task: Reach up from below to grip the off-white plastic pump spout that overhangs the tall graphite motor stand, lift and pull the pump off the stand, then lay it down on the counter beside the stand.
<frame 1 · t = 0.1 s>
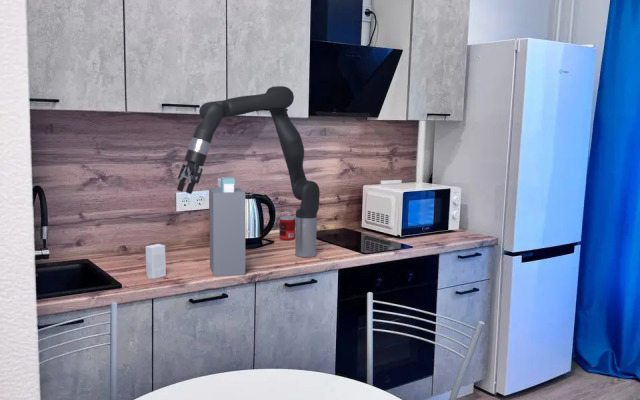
hand: (183, 192, 228), 31 cm above the worktop, tool tilted 20°, fingers open, 8 cm apart
skincare box: (156, 277, 226), on the worktop
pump: (225, 188, 236), point 32 cm above the worktop, touching motor stand
canned food: (287, 239, 299), on the worktop
motor stand: (227, 271, 236), on the worktop
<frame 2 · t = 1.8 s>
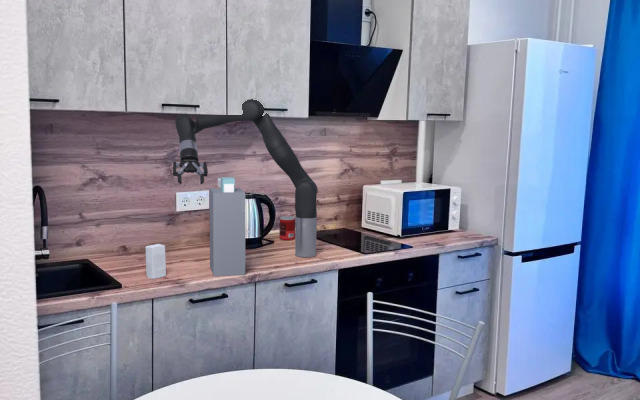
hand: (191, 182, 248), 33 cm above the worktop, tool tilted 45°, fingers open, 8 cm apart
nothing on the worktop moved.
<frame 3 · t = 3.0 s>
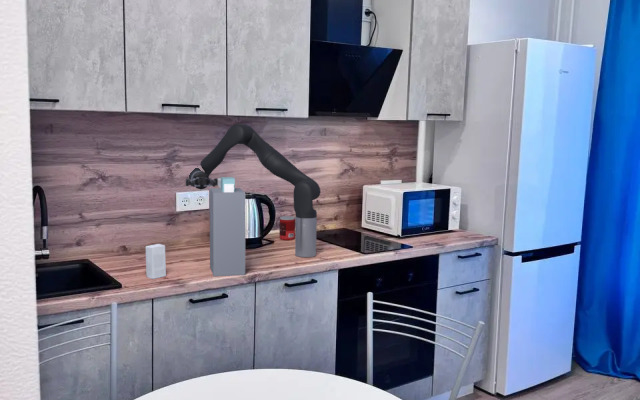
hand: (203, 184, 255), 31 cm above the worktop, tool horizontal, fingers open, 8 cm apart
nothing on the worktop moved.
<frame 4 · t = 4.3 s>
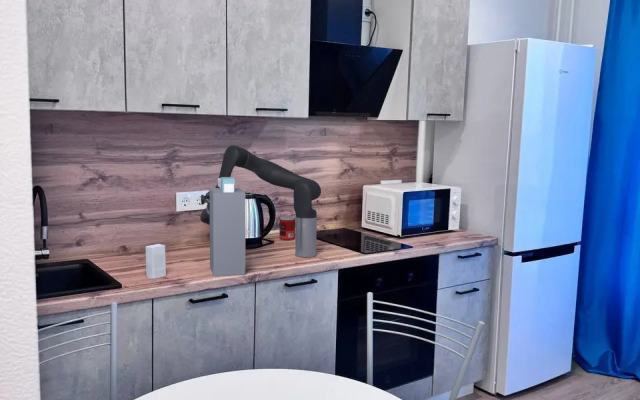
hand: (219, 193, 254), 28 cm above the worktop, tool pointing upward, fingers open, 8 cm apart
nothing on the worktop moved.
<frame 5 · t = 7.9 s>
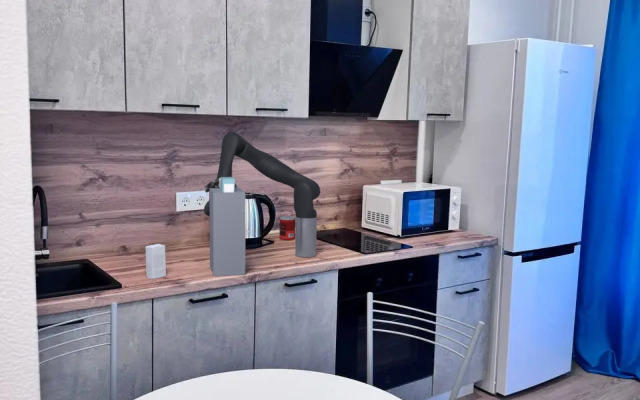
hand: (223, 179, 241), 35 cm above the worktop, tool pointing upward, fingers closed on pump, 3 cm apart
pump: (225, 188, 236), point 32 cm above the worktop, touching gripper, motor stand
everything else where it was.
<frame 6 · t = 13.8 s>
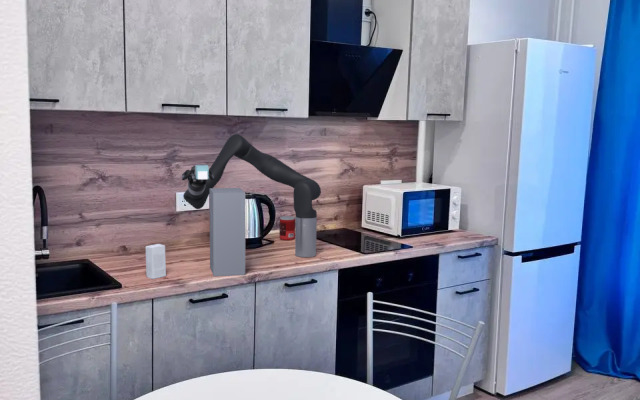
hand: (199, 167, 248), 39 cm above the worktop, tool pointing upward, fingers closed on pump, 3 cm apart
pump: (200, 176, 243), point 36 cm above the worktop, touching gripper
everything else where it was.
when the fingers open (12 cm above the worktop, at t = 19.8 s): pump drops 7 cm, on the worktop.
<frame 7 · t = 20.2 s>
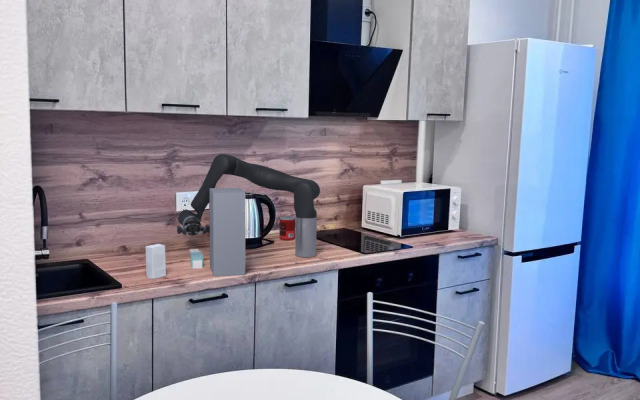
hand: (194, 232, 250), 12 cm above the worktop, tool horizontal, fingers open, 7 cm apart
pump: (195, 261, 250), on the worktop
everything else where it was.
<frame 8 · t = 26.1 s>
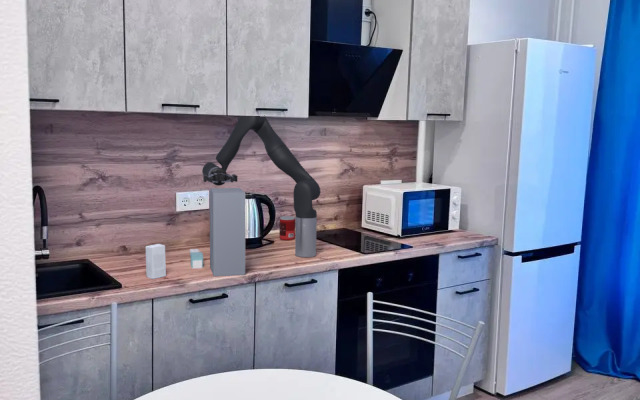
hand: (222, 179, 249), 34 cm above the worktop, tool horizontal, fingers open, 8 cm apart
nothing on the worktop moved.
at the end: the gripper is holding nothing; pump inside the target area (2.8 cm from its centre), on the worktop; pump touching worktop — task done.
